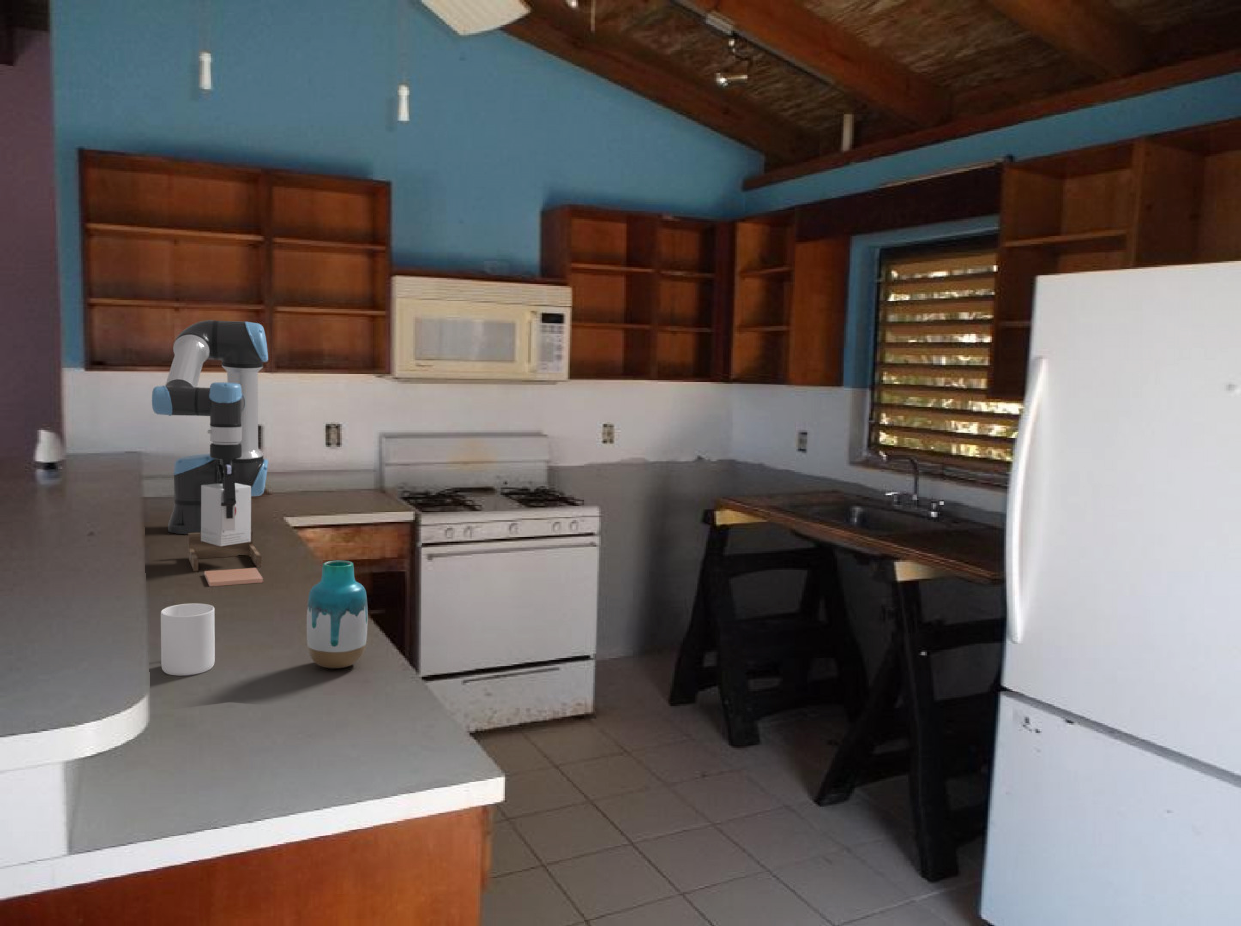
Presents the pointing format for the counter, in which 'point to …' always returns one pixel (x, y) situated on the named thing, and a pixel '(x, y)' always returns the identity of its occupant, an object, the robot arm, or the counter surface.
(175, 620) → the mug
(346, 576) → the vase
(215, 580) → the terracotta tile
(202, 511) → the supplement box
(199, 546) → the wooden u-shaped frame
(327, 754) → the counter surface
